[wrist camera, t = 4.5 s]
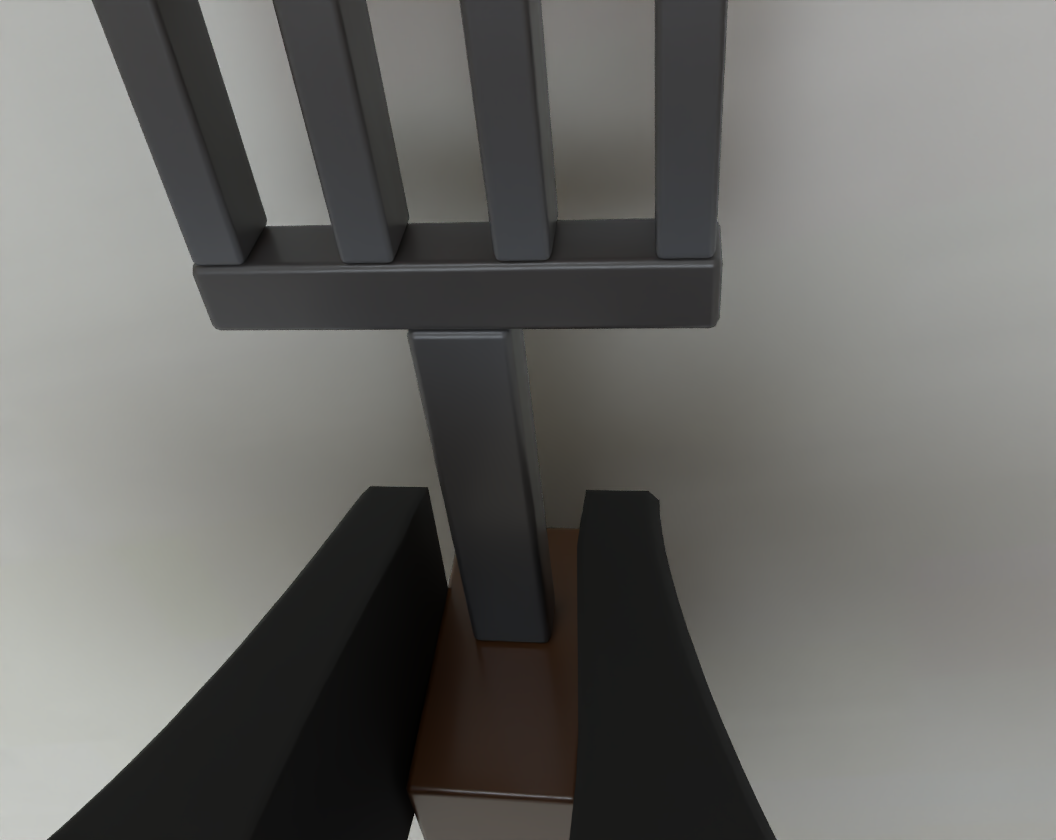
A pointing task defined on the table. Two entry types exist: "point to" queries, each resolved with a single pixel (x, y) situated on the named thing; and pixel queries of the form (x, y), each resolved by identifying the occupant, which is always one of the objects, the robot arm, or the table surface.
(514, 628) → the fork
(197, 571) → the table surface
